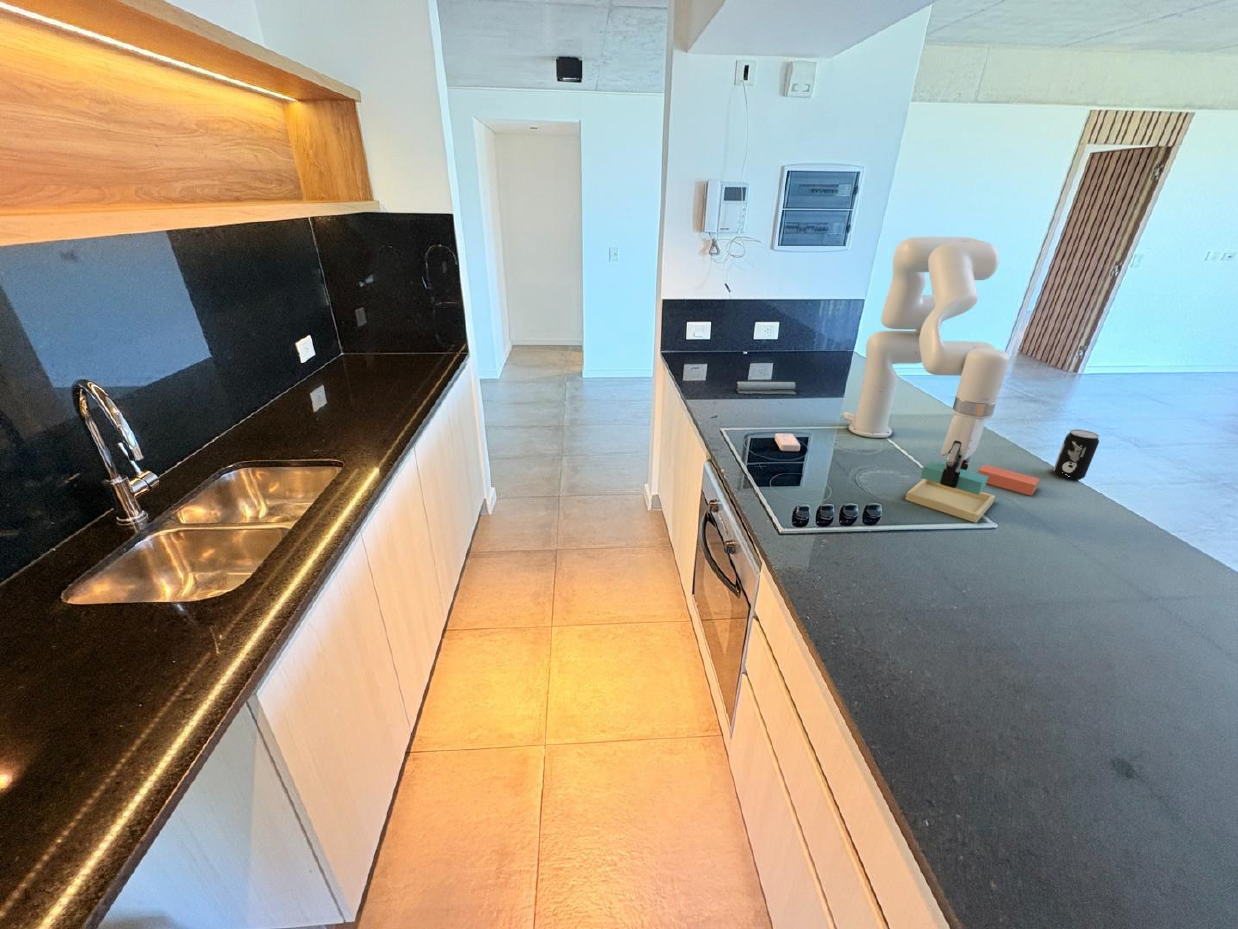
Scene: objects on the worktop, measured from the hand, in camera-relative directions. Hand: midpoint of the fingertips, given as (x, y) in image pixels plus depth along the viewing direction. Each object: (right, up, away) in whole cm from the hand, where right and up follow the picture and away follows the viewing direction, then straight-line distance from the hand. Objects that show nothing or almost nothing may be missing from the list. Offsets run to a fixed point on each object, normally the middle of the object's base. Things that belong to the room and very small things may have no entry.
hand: (952, 481), depth 122 cm
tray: (+2, -5, +5) cm, 7 cm away
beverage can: (+41, +1, +17) cm, 45 cm away
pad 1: (0, 0, 0) cm, 0 cm away
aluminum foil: (-19, +34, +85) cm, 94 cm away
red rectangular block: (+21, -1, +12) cm, 25 cm away
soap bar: (-27, +9, +36) cm, 46 cm away
